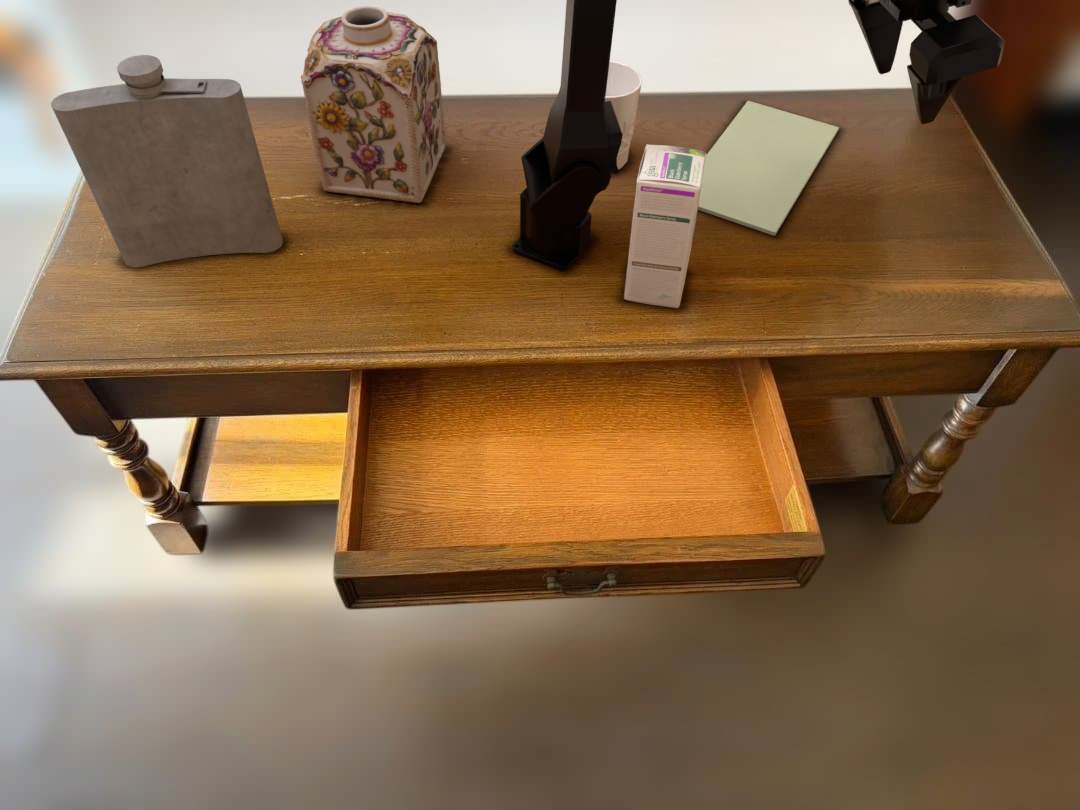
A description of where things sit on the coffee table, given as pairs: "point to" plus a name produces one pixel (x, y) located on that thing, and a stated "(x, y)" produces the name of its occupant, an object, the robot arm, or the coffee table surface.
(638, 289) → the syrup box
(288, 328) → the coffee table surface
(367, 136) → the decorative jar
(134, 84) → the hip flask
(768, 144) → the paper notepad
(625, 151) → the white cup
